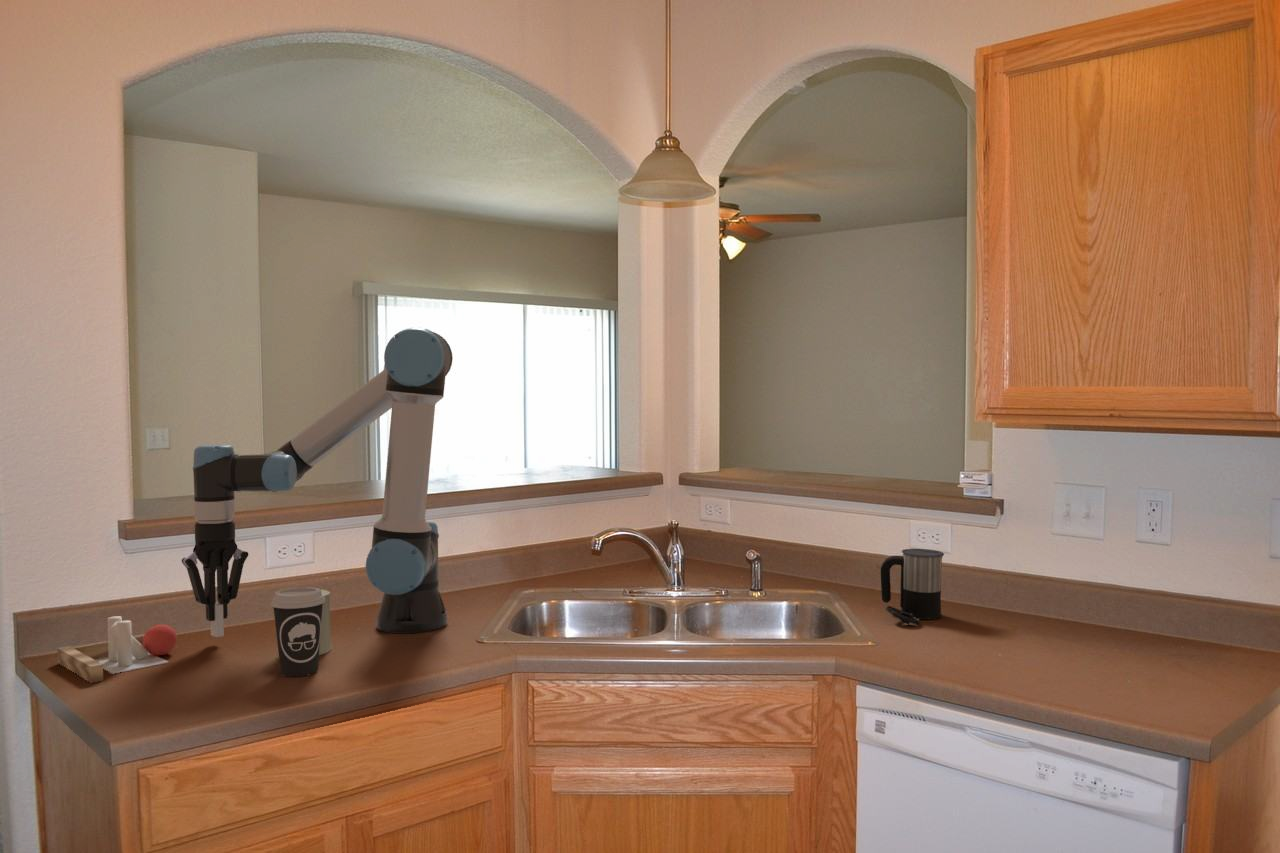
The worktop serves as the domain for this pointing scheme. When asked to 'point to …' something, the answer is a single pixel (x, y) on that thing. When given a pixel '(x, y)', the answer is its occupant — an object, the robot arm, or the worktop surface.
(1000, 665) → the worktop surface
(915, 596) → the milk frother
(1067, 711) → the worktop surface
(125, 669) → the pin deck mark
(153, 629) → the ball
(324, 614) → the can
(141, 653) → the pin front
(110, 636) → the pin
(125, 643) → the pin
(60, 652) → the wooden angle block
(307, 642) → the coffee cup
